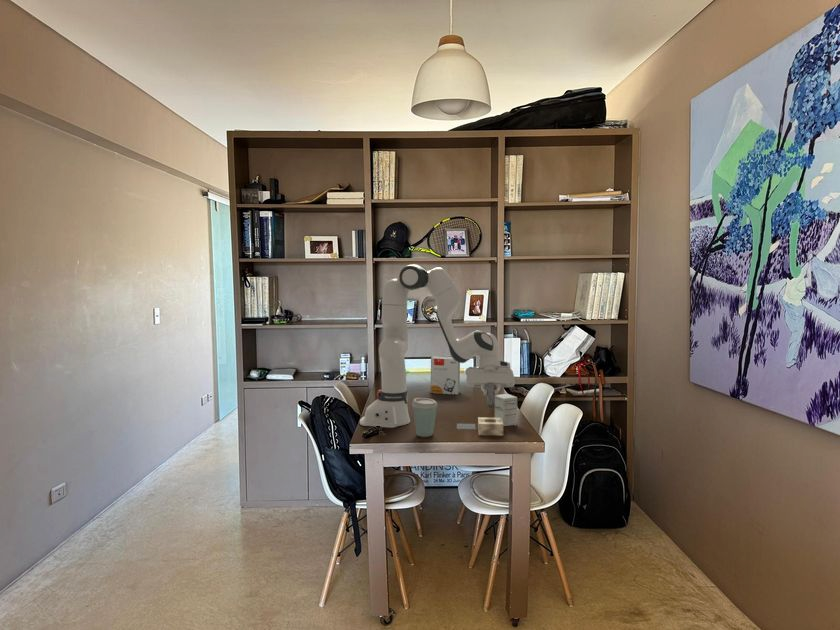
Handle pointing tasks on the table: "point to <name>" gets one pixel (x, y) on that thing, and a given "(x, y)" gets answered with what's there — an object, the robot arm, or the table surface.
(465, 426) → the rubber mat
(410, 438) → the table surface
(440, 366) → the hard drive box
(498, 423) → the birch block
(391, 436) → the table surface
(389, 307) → the robot arm
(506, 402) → the supplement box
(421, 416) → the disposable coffee cup
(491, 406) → the steel pin
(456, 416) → the table surface
